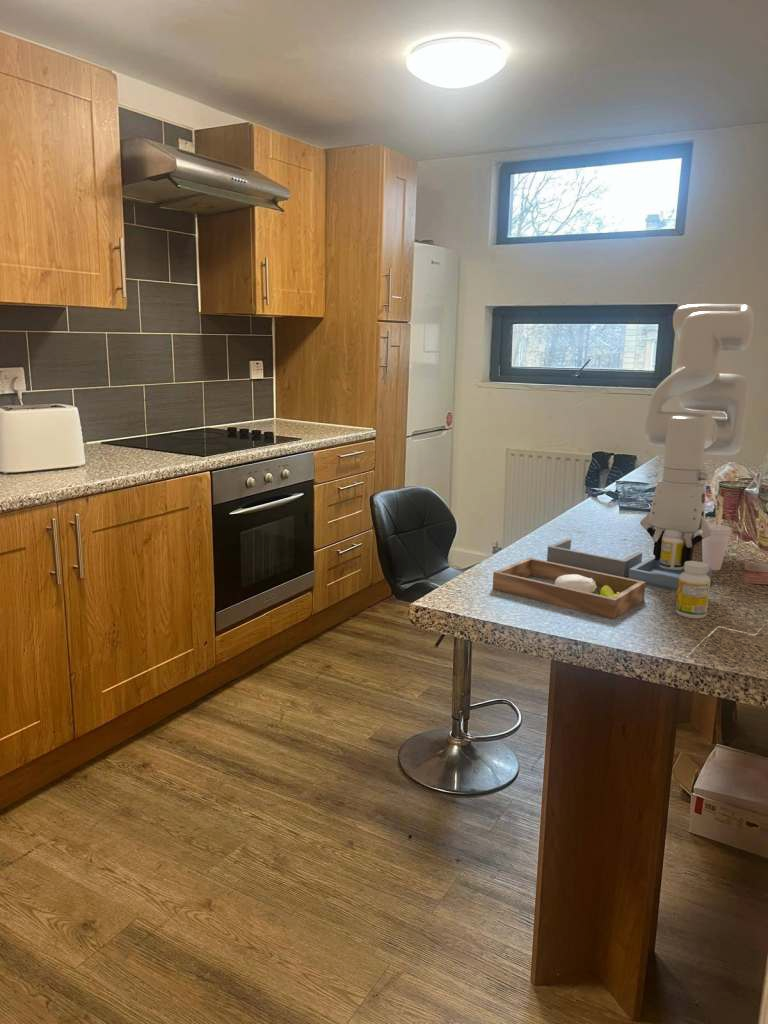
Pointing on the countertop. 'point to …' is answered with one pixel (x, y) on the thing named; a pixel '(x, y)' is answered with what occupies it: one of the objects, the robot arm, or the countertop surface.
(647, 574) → the tray
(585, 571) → the wooden rectangular frame
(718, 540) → the smoothie
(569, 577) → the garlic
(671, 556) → the supplement bottle
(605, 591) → the plate of lemons
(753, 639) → the countertop surface
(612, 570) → the bay
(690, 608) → the supplement bottle
